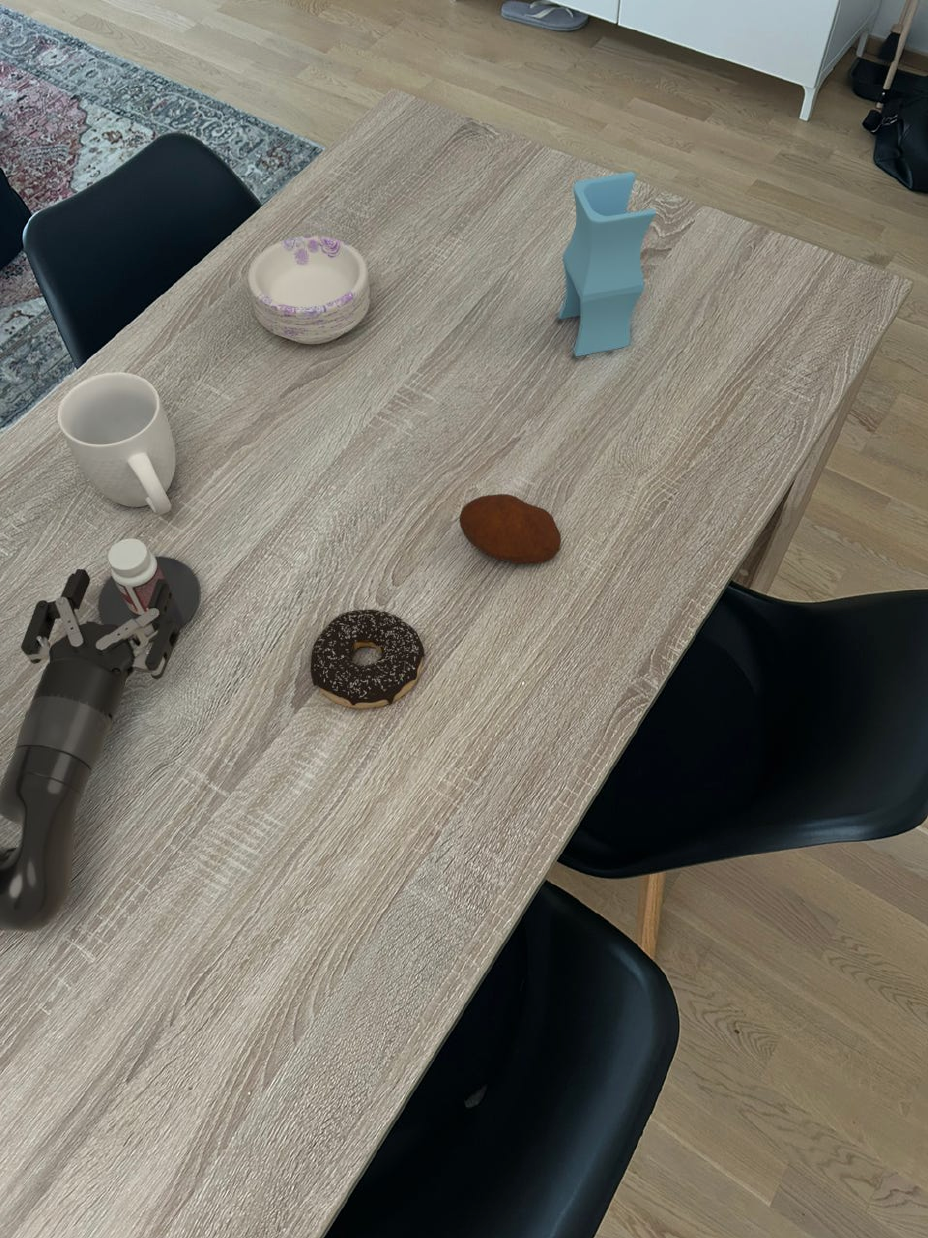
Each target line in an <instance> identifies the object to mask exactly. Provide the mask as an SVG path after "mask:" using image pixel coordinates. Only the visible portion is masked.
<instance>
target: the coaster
mask: <svg viewBox="0 0 928 1238" xmlns="http://www.w3.org/2000/svg"><path fill="white" fill-rule="evenodd" d="M154 557H155V559H156V561H157V563H158V565H159V568H160V570H161V572H162V574H163V576H164V579H166V580H167V583H168V585H169V586H170V588H171V590H172V593H173V598H172V601H171V603H170V606H169V609H168V612H167V615H166V616H173V617H174V619H175V621H176V624H177V626H178V628H179V630H180V631H181V630H182V629H183V628H184V627H185V626H187V625H188V624H189V622H190V621H191V620H192V619H193V617H194V616H195V614H196V612H197V610H198V608H199V604H200V601H201V587H200V586H201V585H200V583H199V580H198V578H197V575H196V574H195V573H194V571H193V570H192V569H191V568H190V567H189V566H188V565H186V564H185V563H183V562H182V561H180V560H178V559H175V558H171V557H167V556H154ZM97 607H98V609H97V611H98V614H99V617H100V618H99V619H100V620H101V622H102V625H104V624H115V625H118V627H121V626H122V625H123V624H125V623H126V622H128V621H129V620H131V619H137V618H138V617H140V616H141V615H139V614H136V613H134V612H133V611H131V610H130V609H129V607H128V605H127V603H126V602H125V600H124V598H123V596H122V594H121V592H120V590H119V588H118V587H117V585H116V583H115V581H114V579H113V577H112V575H110V576H109V577H108V579H107V580H106V581H105V583H104V584H103V585H102V588H101V590H100V593H99V596H98V601H97ZM133 637H134V635H133V634H132V635H131V636H129V637H128V640H129V641H131V640H132V639H133ZM155 637H156V635H155V636H153V637H152V638H150V639H149V641H148V643H153V641H154V639H155Z"/></svg>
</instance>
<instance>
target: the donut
mask: <svg viewBox="0 0 928 1238" xmlns="http://www.w3.org/2000/svg"><path fill="white" fill-rule="evenodd" d="M364 647H371V648H374V649H376V650H377V651H378V652H379V653H380V654H381V655H380V657H379V658H378V659H377V660H376V661H374V662H373V663H370V664H368V665H365V664H364V665H363V664H362V665H361V664H358V663H356V662H354V661H353V655H354V653H355V651H356V650H358V649H359V648H364ZM424 657H426V653H425V648H424V645H423V642H422V640H421V638H420V636H419V634H418V632H417V631H416V630H415V628H413V627H412V626H411V625H410V624H408V622H406V621H404V620H403V619H402V618H401V617H399V616H397V615H396V614H392V613H391V612H390V613H389V612H387V611H383V610H377V609H354V610H349V611H346V612H343V613H341V614H339V615H337V616H336V617H334V618H333V619H331V621H330V622H329V623H328V624H327V625H326V627H325V628H324V629H323V630H322V631H321V633H320V634H319V635H318V637H317V638H316V640H315V642H314V644H313V646H312V651H311V655H310V676H311V679H312V684H313V687H317V688H318V689H319V691H320V692H321V694H323V696H325V697H326V698H328V699H329V700H330V701H332V702H333V703H335V704H338V705H340V706H342V707H345V708H352V709H359V710H361V709H371V708H372V709H373V708H380V707H383V706H386V705H392V704H393V703H394V702H396V701H397V700H398V699H400V698H402V697H403V696H404V695H406V693H408V692H409V691H410V690H411V689H412V688H413V687H414V685H415V683H417V681H418V679H419V676H420V674H421V672H422V667H423V658H424Z"/></svg>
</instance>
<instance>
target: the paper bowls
mask: <svg viewBox="0 0 928 1238" xmlns="http://www.w3.org/2000/svg"><path fill="white" fill-rule="evenodd" d="M247 286H248V289H249V290H248V291H249V297H250V301H251V307H252V309H253V312H254V315H255V317H256V319H257V321H258V322H259V323H260V324H261V325H262V327H264V328H265V329H266V330H268V331H269V332H270V333H272V334H274V335H276V336H280V337H282V338H285V339H287V340H290V341H293V342H295V343H298V344H303V345H321V344H325V343H329V342H332V341H334V340H337V339H338V338H339V337H341V336H343V335H344V334H345V333H348V332H349V331H351V330H352V329H353V328H355V327H356V326H358V324H360V323H361V322H362V320H363V319H364V318H365V317H366V316H367V314H368V312H369V308H370V305H371V289H370V278H369V270H368V265H367V263H366V260H365V258H364V257H363V256H362V254H361V253H360V252H359V251H358V250H357V249H356V248H355V247H353V246H352V245H351V244H349V243H347V242H346V241H343V240H340V239H338V238H334V237H331V236H325V235H324V236H323V235H300V236H293V237H290V238H286V239H283V240H280V241H277V242H275V243H273V244H271V245H270V246H268V247H266V248H265V249H263V250H262V251H261V252H260V253H258V254H257V256H256V257H255V258H254V259H253V261H251V265H250V266H249V269H248V271H247Z"/></svg>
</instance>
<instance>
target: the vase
mask: <svg viewBox="0 0 928 1238" xmlns="http://www.w3.org/2000/svg"><path fill="white" fill-rule="evenodd" d="M635 180H636V173H635V172H634V171H628V172H622V173H617V174H610V175H604V176H599V177H592V178H586V179H582V180H579V181H577V182H575V184H574V185H573V188H572V189H573V196H574V203H575V217H576V218H575V227H574V230H573V233H572V236H571V239H570V240H569V242H568V245H567V247H566V248H565V250H564V252H563V255H562V263H563V269H564V276H565V277H564V278H565V293H564V298H563V302H562V305H561V308H560V309H559V312H558V314H557V317H558V319H559V320H565V319H571V318H575V317H580V318H579V326H578V331H577V337H576V340H575V346H574V349H573V354H574V356H575V357H580V356H586V355H592V354H597V353H603V352H608V351H613V350H617V349H622V348H623V349H624V348H626V347H628V346H629V345H630V344H631V322H632V321H631V320H632V316H633V312H634V310H635V307H636V306H637V303H638V301H639V300H640V299H641V297H642V294H643V292H644V290H645V280H644V276H643V271H642V263H641V251H642V245H643V241H644V238H645V236H646V234H647V231H648V230H649V227H650V226H651V224H652V222H653V220H654V219H655V217H656V215H657V212H656V210H655V208H648V209H642V210H636V211H632V212H627V211H628V208H629V202H630V198H631V195H632V192H633V187H634V185H635Z"/></svg>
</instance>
